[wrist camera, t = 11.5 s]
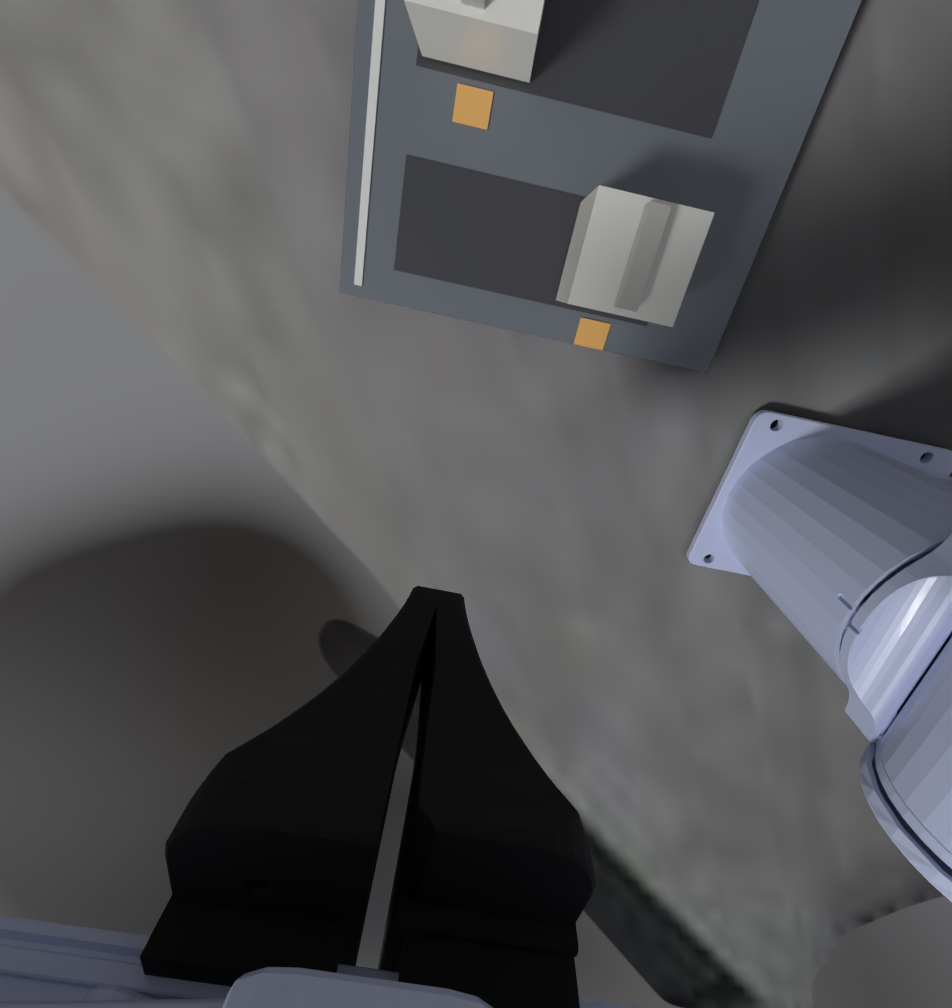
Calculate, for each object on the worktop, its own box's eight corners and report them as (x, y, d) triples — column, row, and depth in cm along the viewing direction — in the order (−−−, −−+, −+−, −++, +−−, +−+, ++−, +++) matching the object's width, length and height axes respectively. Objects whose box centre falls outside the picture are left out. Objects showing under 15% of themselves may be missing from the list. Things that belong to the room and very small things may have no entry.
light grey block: (675, 224, 16) (723, 209, 13) (643, 319, 18) (679, 329, 14) (580, 202, 16) (603, 181, 13) (555, 300, 17) (570, 304, 14)
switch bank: (985, -343, 12) (1028, -399, 11) (697, 368, 19) (707, 373, 19) (404, -526, 11) (394, -604, 10) (346, 292, 19) (339, 292, 18)
